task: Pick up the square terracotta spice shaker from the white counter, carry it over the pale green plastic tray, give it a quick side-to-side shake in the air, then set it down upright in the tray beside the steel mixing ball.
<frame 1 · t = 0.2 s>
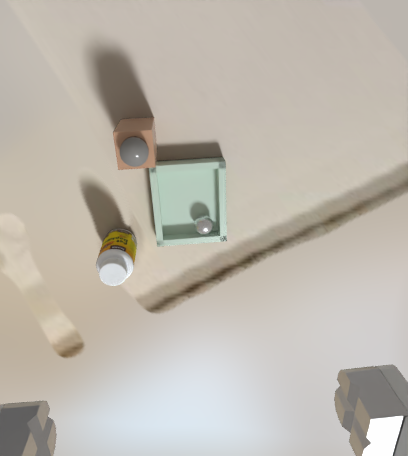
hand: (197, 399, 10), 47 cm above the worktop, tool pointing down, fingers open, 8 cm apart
shaker: (139, 134, 53), on the worktop
mixing ball: (202, 220, 59), point 1 cm above the worktop, touching tray
tray: (188, 199, 58), on the worktop
supplement bottle: (120, 241, 61), on the worktop
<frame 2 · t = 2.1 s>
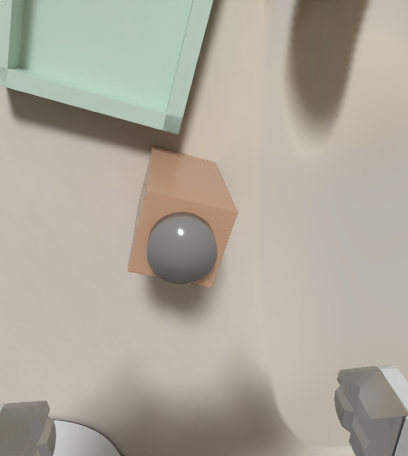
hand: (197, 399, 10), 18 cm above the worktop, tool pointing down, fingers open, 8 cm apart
shaker: (176, 184, 27), on the worktop
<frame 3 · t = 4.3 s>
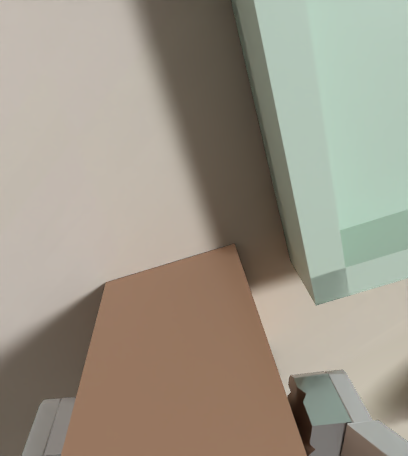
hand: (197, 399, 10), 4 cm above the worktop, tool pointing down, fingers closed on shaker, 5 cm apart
shaker: (189, 314, 14), on the worktop, touching gripper
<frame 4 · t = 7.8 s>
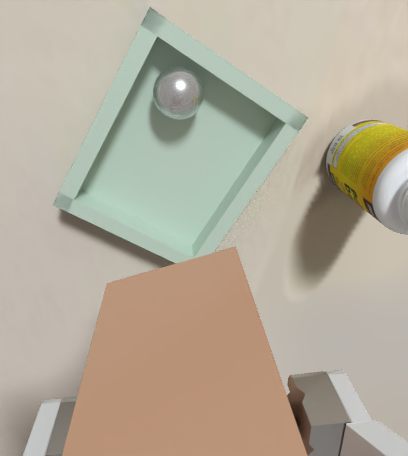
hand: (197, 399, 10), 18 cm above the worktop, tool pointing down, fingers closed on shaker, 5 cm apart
shaker: (189, 315, 14), point 15 cm above the worktop, touching gripper
mixing ball: (177, 91, 23), point 1 cm above the worktop, touching tray
tray: (176, 152, 26), on the worktop
supplement bottle: (357, 154, 27), on the worktop
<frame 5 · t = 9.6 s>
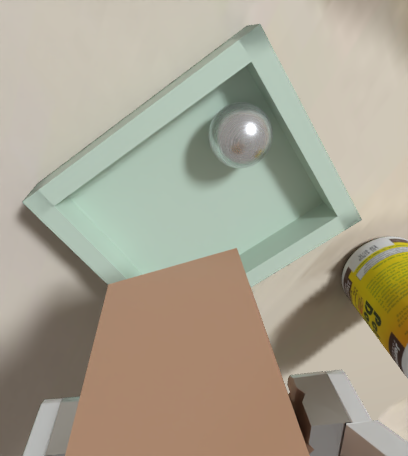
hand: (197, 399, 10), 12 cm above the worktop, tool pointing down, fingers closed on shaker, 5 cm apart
shaker: (190, 316, 14), point 9 cm above the worktop, touching gripper
mixing ball: (234, 128, 19), point 1 cm above the worktop, touching tray
tray: (198, 193, 21), on the worktop
supplement bottle: (375, 266, 25), on the worktop
when the fingers open (6 cm above the worktop, at t = 11.2 s): shaker drops 1 cm, resting on tray.
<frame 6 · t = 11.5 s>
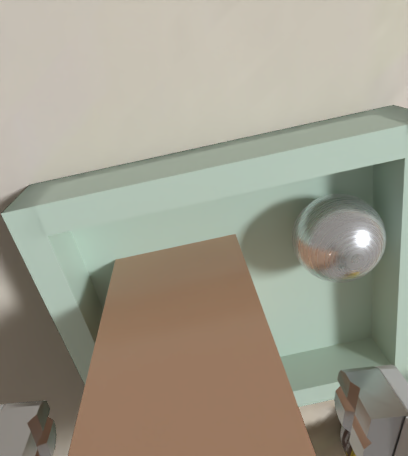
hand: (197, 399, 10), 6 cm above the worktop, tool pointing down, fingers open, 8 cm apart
shaker: (188, 295, 15), point 1 cm above the worktop, touching tray
mixing ball: (320, 219, 14), point 1 cm above the worktop, touching tray
tray: (235, 274, 15), on the worktop
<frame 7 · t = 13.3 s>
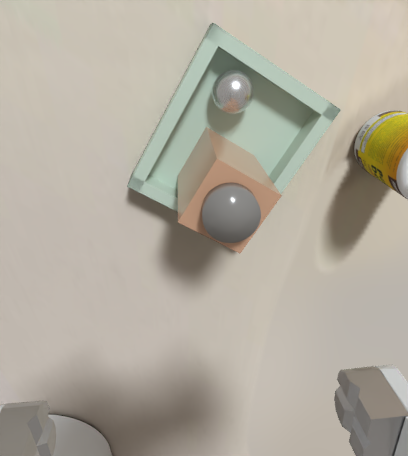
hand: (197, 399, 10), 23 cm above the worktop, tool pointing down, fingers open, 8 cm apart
shaker: (215, 165, 31), point 1 cm above the worktop, touching tray
mixing ball: (230, 89, 28), point 1 cm above the worktop, touching tray
tray: (227, 141, 30), on the worktop
supplement bottle: (381, 141, 31), on the worktop
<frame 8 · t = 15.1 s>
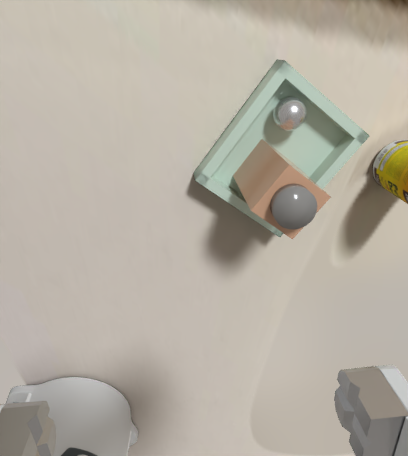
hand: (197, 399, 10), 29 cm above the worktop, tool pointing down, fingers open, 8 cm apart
shaker: (264, 170, 38), point 1 cm above the worktop, touching tray
mixing ball: (285, 111, 35), point 1 cm above the worktop, touching tray
tray: (275, 151, 38), on the worktop
supplement bottle: (394, 163, 40), on the worktop
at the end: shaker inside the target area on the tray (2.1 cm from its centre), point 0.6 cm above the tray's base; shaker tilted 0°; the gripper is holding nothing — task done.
